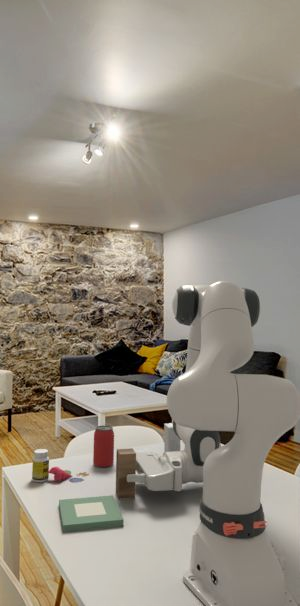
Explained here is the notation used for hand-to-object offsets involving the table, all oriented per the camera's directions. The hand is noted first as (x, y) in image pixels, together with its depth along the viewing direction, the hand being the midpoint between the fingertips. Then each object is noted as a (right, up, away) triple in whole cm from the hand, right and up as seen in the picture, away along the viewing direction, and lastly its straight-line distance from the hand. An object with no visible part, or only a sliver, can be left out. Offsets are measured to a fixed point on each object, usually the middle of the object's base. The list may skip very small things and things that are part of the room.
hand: (122, 471), depth 125 cm
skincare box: (+15, -7, +29) cm, 33 cm away
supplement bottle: (-25, -6, +10) cm, 28 cm away
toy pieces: (-16, -7, +13) cm, 22 cm away
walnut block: (+1, -7, 0) cm, 7 cm away
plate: (-7, -6, -12) cm, 16 cm away
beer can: (-8, -7, +24) cm, 26 cm away
